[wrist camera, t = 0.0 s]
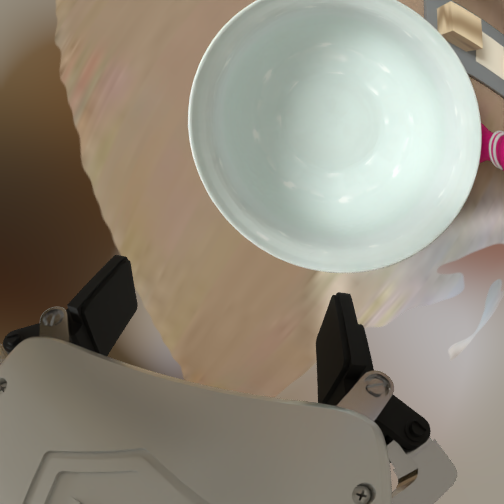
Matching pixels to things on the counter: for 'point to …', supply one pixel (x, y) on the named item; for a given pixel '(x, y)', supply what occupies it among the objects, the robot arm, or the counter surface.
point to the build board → (477, 51)
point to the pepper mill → (492, 147)
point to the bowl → (335, 131)
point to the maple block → (459, 27)
